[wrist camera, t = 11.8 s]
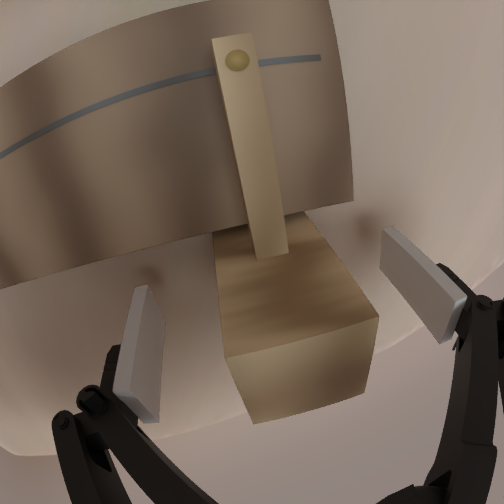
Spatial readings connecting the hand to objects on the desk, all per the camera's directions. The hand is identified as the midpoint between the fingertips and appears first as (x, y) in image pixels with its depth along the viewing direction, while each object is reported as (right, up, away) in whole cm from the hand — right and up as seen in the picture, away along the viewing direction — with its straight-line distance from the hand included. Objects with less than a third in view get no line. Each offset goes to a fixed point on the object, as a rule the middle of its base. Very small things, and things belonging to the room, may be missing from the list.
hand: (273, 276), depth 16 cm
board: (-12, +6, -2) cm, 14 cm away
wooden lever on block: (-1, +5, 0) cm, 6 cm away
